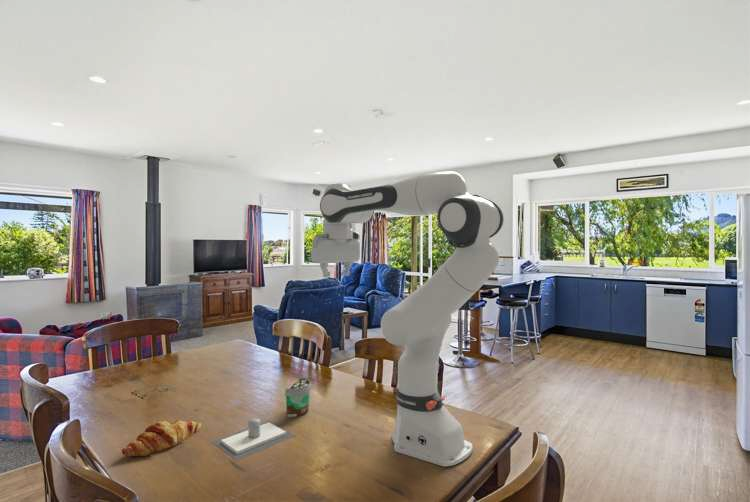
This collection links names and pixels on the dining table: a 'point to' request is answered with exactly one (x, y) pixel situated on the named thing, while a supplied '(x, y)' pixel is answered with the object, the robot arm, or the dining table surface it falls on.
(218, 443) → the mat
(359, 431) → the dining table surface
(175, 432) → the croissant
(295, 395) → the food container
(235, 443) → the lid
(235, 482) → the dining table surface
